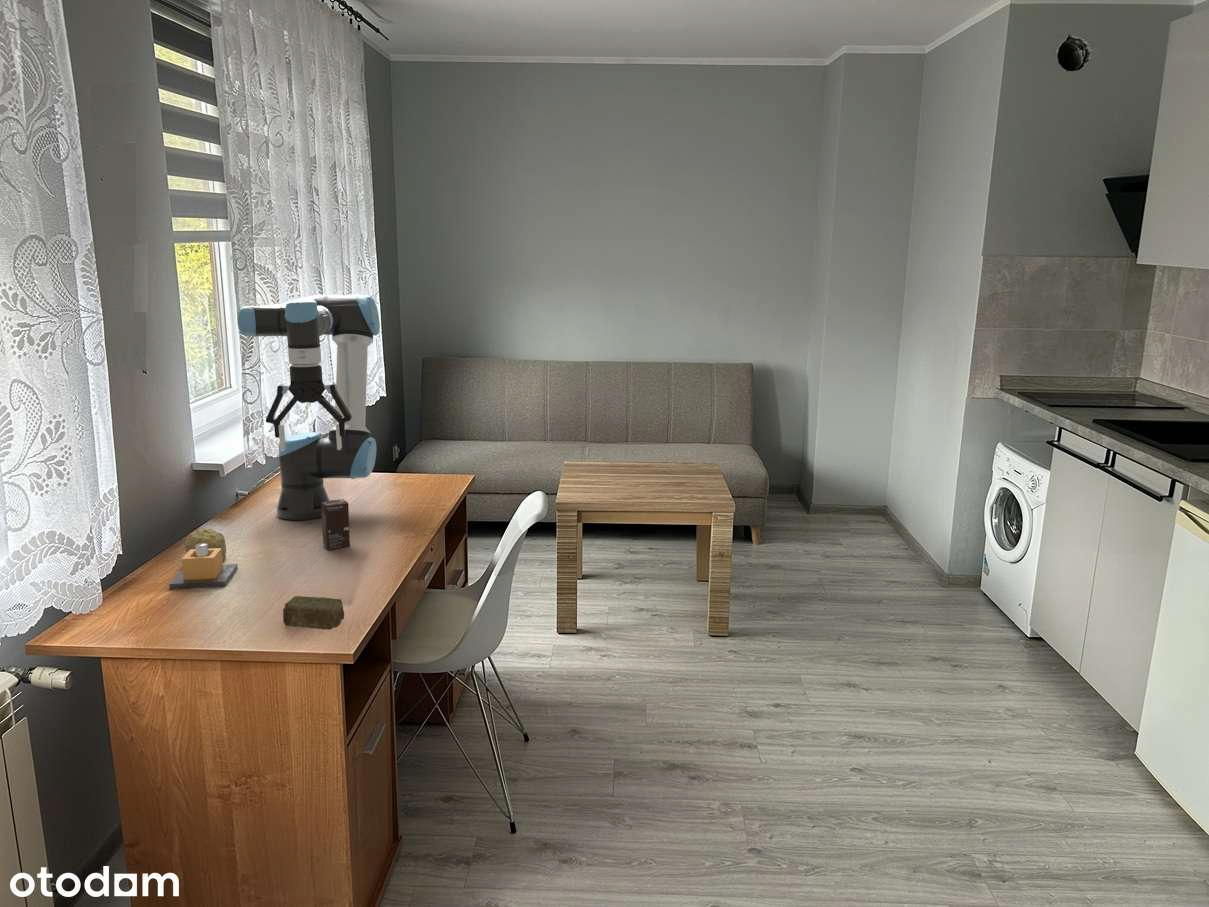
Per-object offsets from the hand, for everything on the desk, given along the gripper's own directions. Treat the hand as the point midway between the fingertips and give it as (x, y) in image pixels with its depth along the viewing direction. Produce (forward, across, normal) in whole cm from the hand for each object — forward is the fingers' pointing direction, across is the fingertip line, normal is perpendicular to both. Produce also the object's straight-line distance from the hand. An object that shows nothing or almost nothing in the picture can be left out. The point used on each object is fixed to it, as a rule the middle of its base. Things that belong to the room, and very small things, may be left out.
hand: (311, 449), depth 229 cm
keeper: (+26, -23, -18) cm, 39 cm away
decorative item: (+27, -26, -4) cm, 37 cm away
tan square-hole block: (+25, -23, -18) cm, 38 cm away
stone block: (+26, +7, -48) cm, 55 cm away
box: (+27, +4, +2) cm, 27 cm away
